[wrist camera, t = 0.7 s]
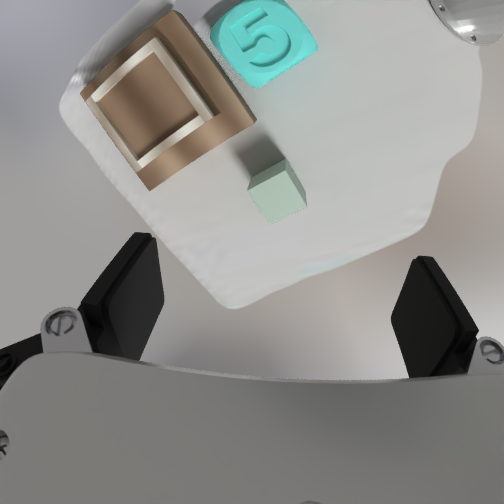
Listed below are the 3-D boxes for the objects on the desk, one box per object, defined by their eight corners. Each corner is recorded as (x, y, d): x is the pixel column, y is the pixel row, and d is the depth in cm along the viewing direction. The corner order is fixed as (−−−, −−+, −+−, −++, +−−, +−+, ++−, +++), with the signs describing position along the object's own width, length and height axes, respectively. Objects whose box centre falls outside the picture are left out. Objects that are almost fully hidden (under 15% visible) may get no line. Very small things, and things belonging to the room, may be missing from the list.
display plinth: (181, 13, 27) (159, 3, 21) (256, 119, 34) (250, 129, 28) (92, 90, 33) (61, 97, 27) (158, 183, 40) (137, 203, 34)
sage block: (286, 158, 36) (285, 170, 32) (305, 190, 39) (307, 206, 34) (251, 176, 38) (246, 191, 34) (271, 207, 40) (269, 225, 36)
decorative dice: (273, 2, 26) (269, -17, 19) (315, 52, 29) (323, 46, 22) (218, 39, 29) (199, 30, 22) (259, 88, 32) (251, 91, 25)
